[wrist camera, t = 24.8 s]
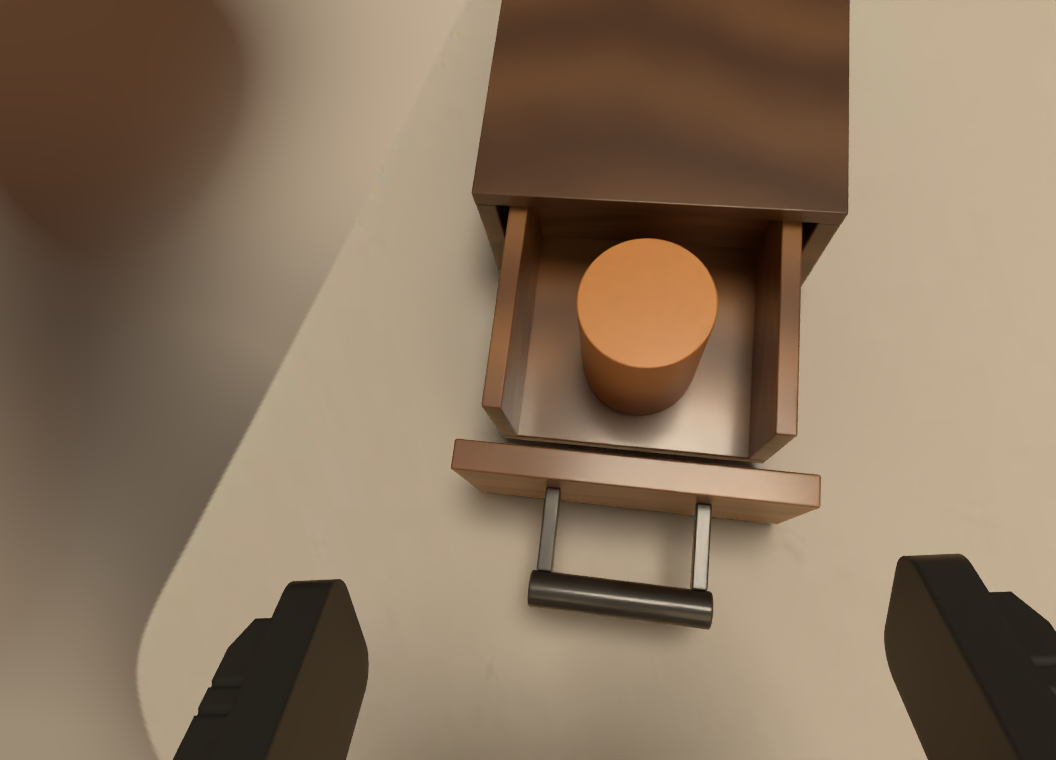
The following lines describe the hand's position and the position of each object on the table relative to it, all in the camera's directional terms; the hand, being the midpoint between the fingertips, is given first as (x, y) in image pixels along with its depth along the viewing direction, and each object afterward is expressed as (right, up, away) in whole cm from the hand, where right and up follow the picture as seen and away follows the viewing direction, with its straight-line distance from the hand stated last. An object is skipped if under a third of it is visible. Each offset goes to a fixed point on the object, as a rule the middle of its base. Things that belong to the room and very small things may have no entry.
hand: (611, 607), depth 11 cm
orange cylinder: (+4, +4, +23) cm, 24 cm away
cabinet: (+6, +15, +29) cm, 33 cm away
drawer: (+4, +2, +24) cm, 24 cm away
